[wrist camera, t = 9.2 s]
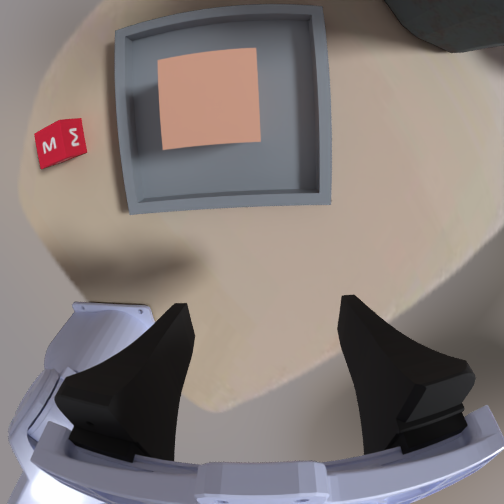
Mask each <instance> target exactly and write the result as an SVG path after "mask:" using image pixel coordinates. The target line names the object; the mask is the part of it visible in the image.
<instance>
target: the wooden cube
mask: <svg viewBox="0 0 504 504" xmlns="http://www.w3.org/2000/svg"><path fill="white" fill-rule="evenodd" d="M158 89H159V108H160V123H161V135H162V147H163V150H167V149H175V148H183V147H192V146H202V145H214V144H227V143H244V142H261V133H260V112H259V91H258V72H257V53H256V48H240V49H227V50H217V51H209V52H201V53H194V54H187V55H181V56H176V57H170V58H165V59H161V60H158Z"/></svg>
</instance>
